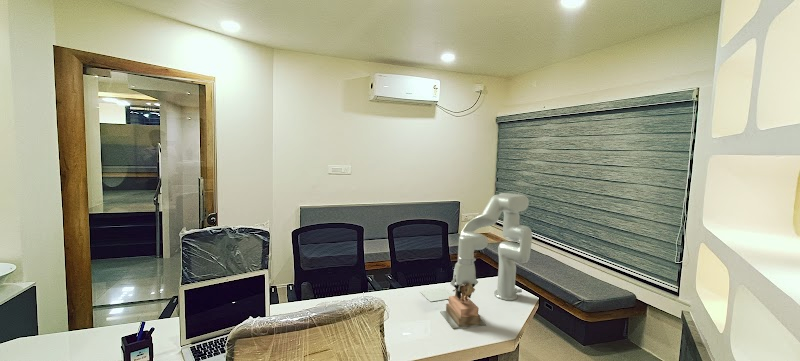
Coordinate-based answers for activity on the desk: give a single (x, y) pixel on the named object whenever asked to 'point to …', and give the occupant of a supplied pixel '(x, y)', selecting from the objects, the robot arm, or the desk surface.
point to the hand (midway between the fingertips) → (463, 296)
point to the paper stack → (437, 294)
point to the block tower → (462, 313)
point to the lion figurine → (466, 291)
